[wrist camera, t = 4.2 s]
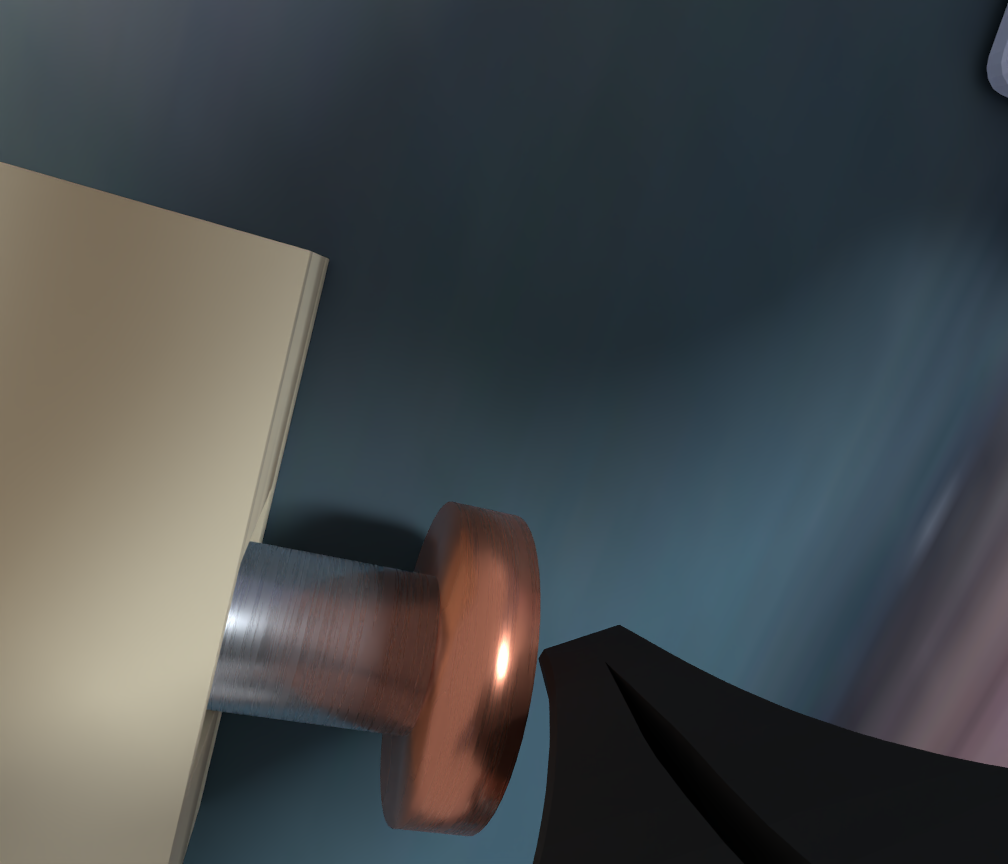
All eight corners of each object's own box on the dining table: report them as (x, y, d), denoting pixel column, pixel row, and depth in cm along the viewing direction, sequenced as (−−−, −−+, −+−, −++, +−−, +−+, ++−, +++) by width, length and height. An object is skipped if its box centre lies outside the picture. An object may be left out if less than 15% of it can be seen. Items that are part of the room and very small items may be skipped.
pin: (498, 480, 12) (570, 588, 8) (432, 711, 13) (466, 921, 9) (-369, 283, 10) (-946, 293, 5) (-397, 592, 10) (-927, 816, 6)
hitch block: (329, 259, 12) (309, 250, 7) (199, 806, 13) (118, 1076, 9) (-102, 135, 10) (-455, 30, 6) (-190, 766, 12) (-521, 1064, 7)
